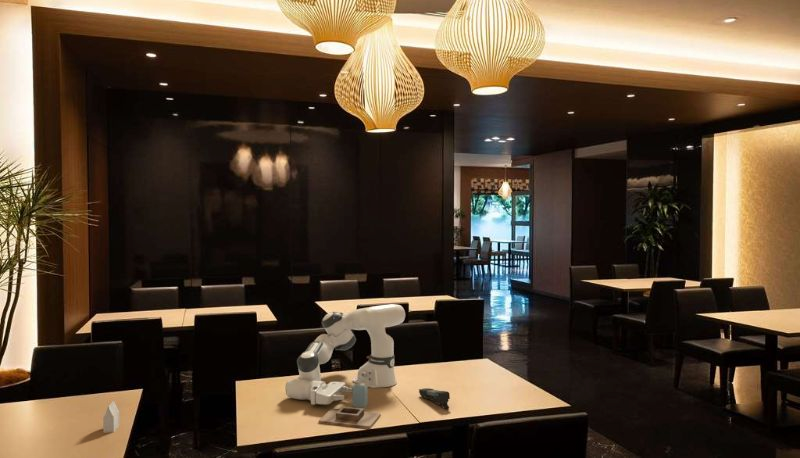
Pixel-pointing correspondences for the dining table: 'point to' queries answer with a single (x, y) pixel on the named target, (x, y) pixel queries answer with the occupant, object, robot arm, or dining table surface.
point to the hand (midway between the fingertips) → (348, 393)
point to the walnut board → (350, 417)
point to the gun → (436, 396)
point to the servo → (360, 395)
